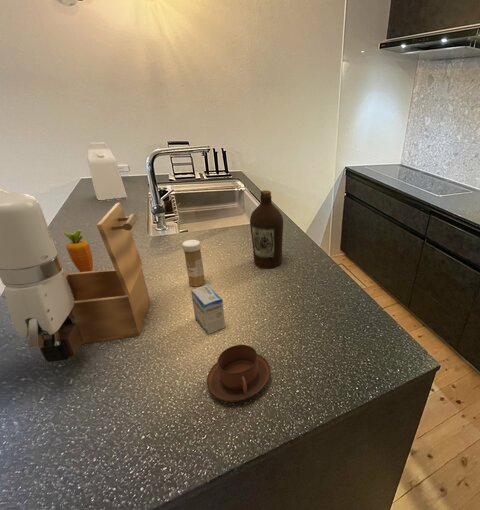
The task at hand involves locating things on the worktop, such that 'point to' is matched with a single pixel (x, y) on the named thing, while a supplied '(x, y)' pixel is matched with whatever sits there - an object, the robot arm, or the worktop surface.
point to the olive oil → (267, 233)
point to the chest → (107, 305)
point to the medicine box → (208, 309)
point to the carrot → (79, 252)
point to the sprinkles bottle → (194, 262)
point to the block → (68, 338)
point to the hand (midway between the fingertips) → (64, 348)
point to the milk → (104, 172)
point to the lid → (121, 245)
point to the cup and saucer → (238, 374)
